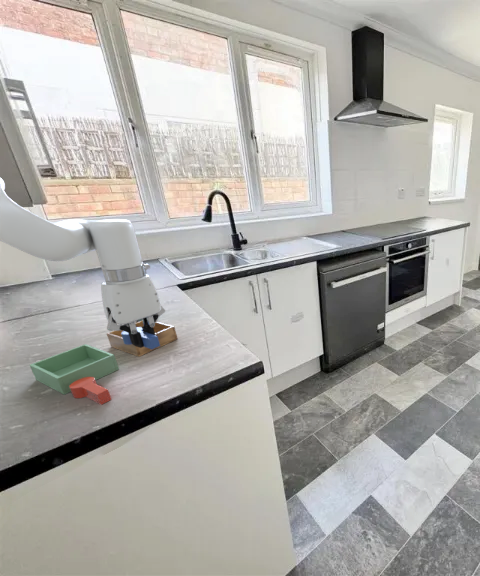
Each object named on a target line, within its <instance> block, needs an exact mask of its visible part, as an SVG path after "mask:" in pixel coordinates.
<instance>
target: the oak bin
mask: <svg viewBox="0 0 480 576" xmlns="http://www.w3.org/2000/svg"><path fill="white" fill-rule="evenodd" d="M135 325H136V327H142V326H144V324H143V321H136V322H135ZM153 328H154V332H155V335H156V336H158V340H159V344H160V346H159V347H156V348H154V349H149V348H146V347H142V348H140V347H137V346H135V345H133V344H130V345H127V344H124V341H123V338H122V335H121V333H122V332H123V331H110V332H107V333H106V336H107V339H108V342H109V345H110V347H111V348H112V349H113V348H114V349H116V350H119V351H121V352H124V353H127V354H130V355H133V356H136V357H138V358H140V357H142V356H144V355H146V354H148V353H150V352H153V351H154V350H155V351H156V350H157V349H159V348H161V347H163V346H166V345H169V344H171V343H173V342H174V341H177V340H178V339H179V338H178V335H177V331H176V328H175V326H174V325H171V324H168V323H163V322H160V321H156V322H155V326H154V327H153Z"/></svg>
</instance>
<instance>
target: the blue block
mask: <svg viewBox="0 0 480 576" xmlns="http://www.w3.org/2000/svg"><path fill="white" fill-rule="evenodd" d="M136 328H137V331H138V332H140V333H141V336H142V341H143V344H144V347H146V348H149V349H154V348H156V347H159V346H160V344H159V340H158V336H156V335H153V334H149V333H146V332H143V330H142V327H136ZM121 335H122V338H123V341H124V344H127V345H130V344H132V343H131V340H130V337H129V333H128V332H125V331H123V332H122V333H121ZM159 348H160V347H159Z"/></svg>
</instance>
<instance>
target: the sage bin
mask: <svg viewBox="0 0 480 576" xmlns="http://www.w3.org/2000/svg"><path fill="white" fill-rule="evenodd" d="M29 368H30V370H31V372H32V374H33V376H34V378H35V380H36V382H37V381H38V382H39V383H41V384H42V385H45V386H47V387H49V388H50V389H52V390H54V391H56V392H58V393H60V394H62V395H67V394H69V393H71V390H70V388H69V386H70V384H71V383H73V382H75V381H76V380H79V379H82V378H85V377H94V378H95V380H96V381H97V380H99V379H102V378H103V377H106V376H109V375H110V374H112V373H114V372H117V371H119V370H120V367H119V365H118V362H117V359H116V355H115V354H113V353H111V352H109V351H106V350H103V349H100V348H97V347H94V346H92V345H91V344H90V345H89V344H87V343H84V344H82V345H79V346H76V347H73V348H71V349H69V350H66V351H63V352H60V353H57V354H55V355H51V356H49V357H46V358H44V359H42V360H39V361H35V362H33V363H31V364H29Z"/></svg>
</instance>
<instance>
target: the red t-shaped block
mask: <svg viewBox="0 0 480 576" xmlns="http://www.w3.org/2000/svg"><path fill="white" fill-rule="evenodd" d="M69 388H70V390H71V392H70V393H71V395H72V398H74V399H83V398H86V399H89V400H90V401H93V402H94V403H96V404H98V405H101V406H102V405H105V404H106V403H108V402H109V401H112V397H111V394H110V391H109V389H108V388H105V387H104V386H102V385H99V384H98V383H97V380H95V378H94V377H85V378H82V379H79V380H76V381H75V382H73V383H71V384H70V386H69Z"/></svg>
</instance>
